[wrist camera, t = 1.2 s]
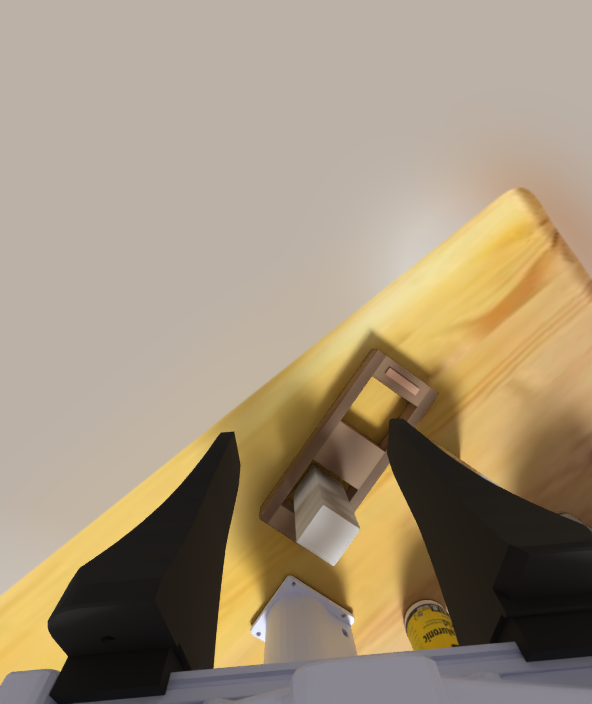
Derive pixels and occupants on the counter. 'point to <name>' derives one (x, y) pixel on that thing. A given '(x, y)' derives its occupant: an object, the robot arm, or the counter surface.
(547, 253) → the counter surface
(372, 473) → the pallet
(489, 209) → the counter surface
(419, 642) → the supplement bottle
